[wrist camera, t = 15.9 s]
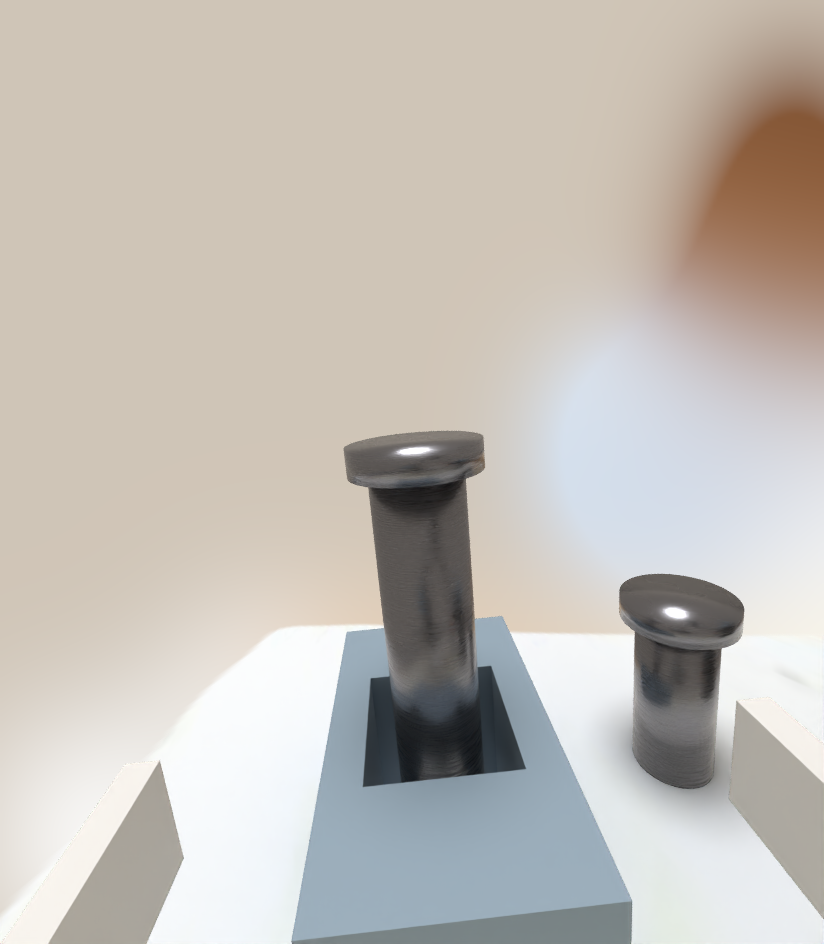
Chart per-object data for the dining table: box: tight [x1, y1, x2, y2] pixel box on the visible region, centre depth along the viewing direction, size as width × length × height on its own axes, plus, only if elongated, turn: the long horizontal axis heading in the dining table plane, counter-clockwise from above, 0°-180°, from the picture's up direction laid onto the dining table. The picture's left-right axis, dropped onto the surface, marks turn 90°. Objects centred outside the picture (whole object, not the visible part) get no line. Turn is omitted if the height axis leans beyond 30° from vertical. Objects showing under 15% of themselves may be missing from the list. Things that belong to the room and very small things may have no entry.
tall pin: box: [344, 431, 485, 783], centre depth 20 cm, size 6×6×20 cm
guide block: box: [292, 616, 632, 944], centre depth 22 cm, size 16×10×7 cm, turn 2°
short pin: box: [619, 574, 744, 788], centre depth 25 cm, size 6×6×10 cm
